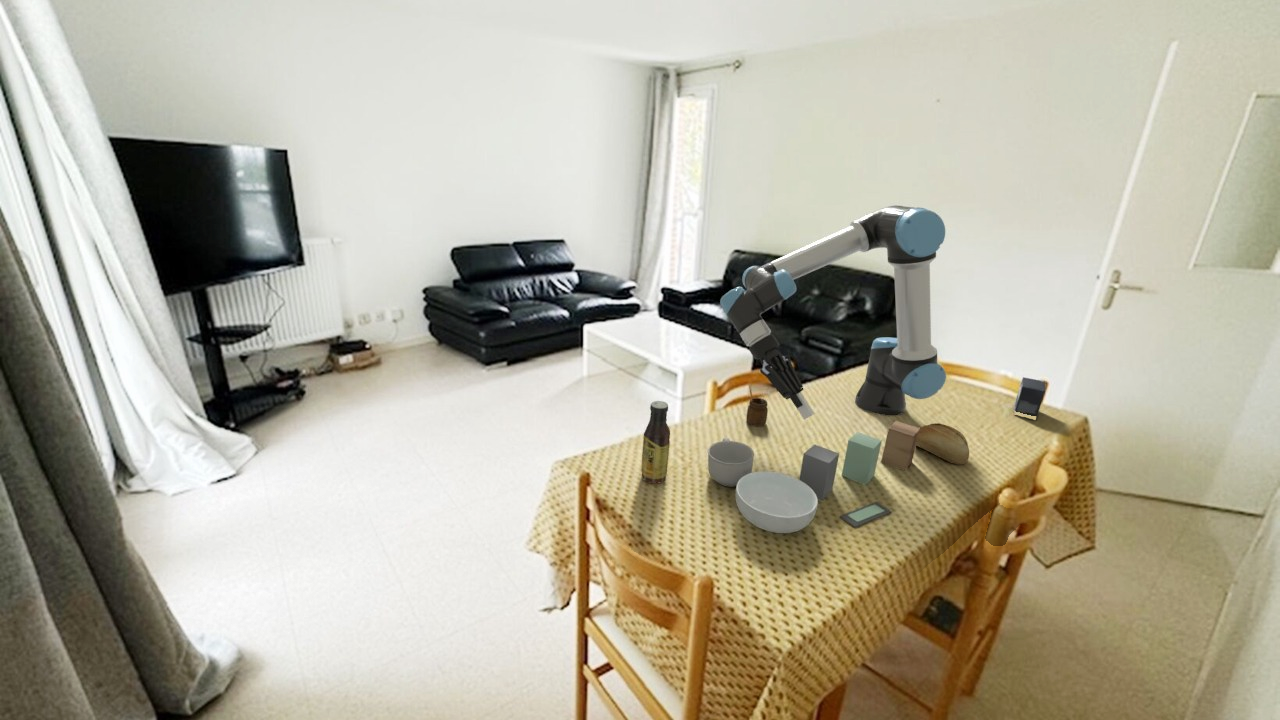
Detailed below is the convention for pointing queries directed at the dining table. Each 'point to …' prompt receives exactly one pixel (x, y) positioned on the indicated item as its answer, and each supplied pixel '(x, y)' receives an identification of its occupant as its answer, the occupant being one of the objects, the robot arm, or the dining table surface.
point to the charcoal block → (819, 470)
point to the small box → (1030, 396)
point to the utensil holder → (757, 410)
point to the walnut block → (900, 445)
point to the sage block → (861, 458)
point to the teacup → (729, 461)
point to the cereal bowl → (776, 501)
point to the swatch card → (865, 514)
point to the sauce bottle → (656, 444)
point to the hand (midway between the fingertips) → (809, 416)
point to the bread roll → (944, 442)
